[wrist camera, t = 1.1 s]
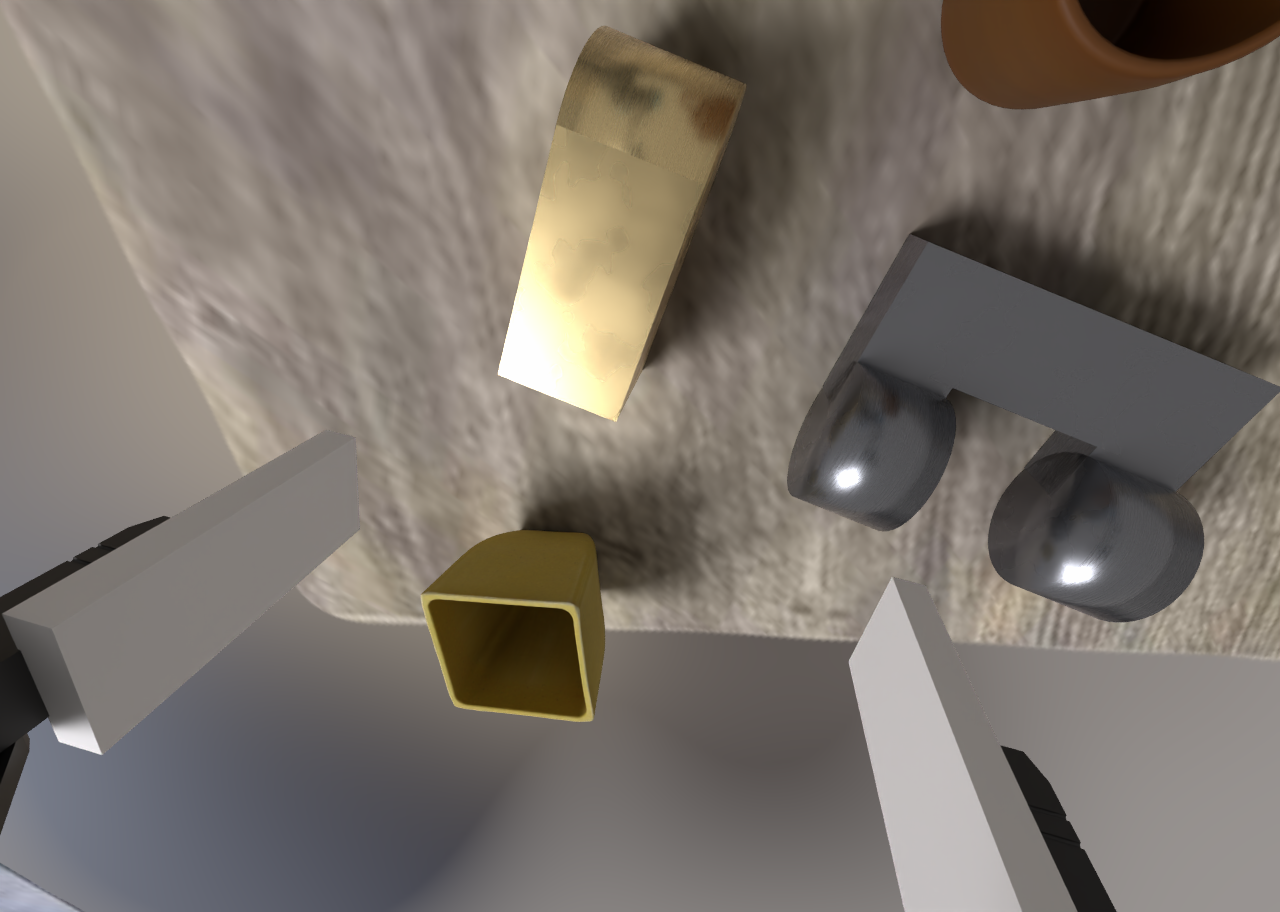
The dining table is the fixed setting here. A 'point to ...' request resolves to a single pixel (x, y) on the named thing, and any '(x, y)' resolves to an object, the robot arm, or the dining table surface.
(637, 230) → the brass curved block
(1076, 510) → the hinge base leaf
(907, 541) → the dining table surface
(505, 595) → the flower pot
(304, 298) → the dining table surface
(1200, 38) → the mug
